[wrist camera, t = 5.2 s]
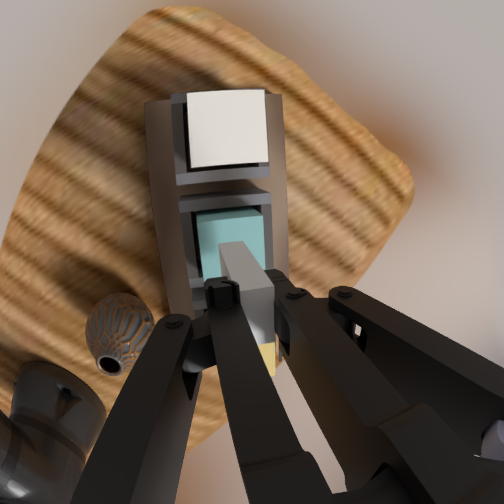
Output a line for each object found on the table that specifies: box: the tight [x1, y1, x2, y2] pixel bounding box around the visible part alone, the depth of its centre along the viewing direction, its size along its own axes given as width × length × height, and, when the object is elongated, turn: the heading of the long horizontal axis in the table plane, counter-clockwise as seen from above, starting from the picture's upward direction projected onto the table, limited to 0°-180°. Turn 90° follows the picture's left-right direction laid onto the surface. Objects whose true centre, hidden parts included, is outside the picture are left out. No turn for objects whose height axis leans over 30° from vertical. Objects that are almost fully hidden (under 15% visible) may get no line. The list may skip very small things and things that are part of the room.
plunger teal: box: [196, 205, 265, 282], centre depth 21 cm, size 4×4×5 cm
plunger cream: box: [187, 90, 268, 168], centre depth 17 cm, size 4×4×5 cm
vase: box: [85, 293, 155, 376], centre depth 23 cm, size 7×7×9 cm
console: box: [144, 89, 289, 353], centre depth 23 cm, size 12×24×6 cm, turn 2°
